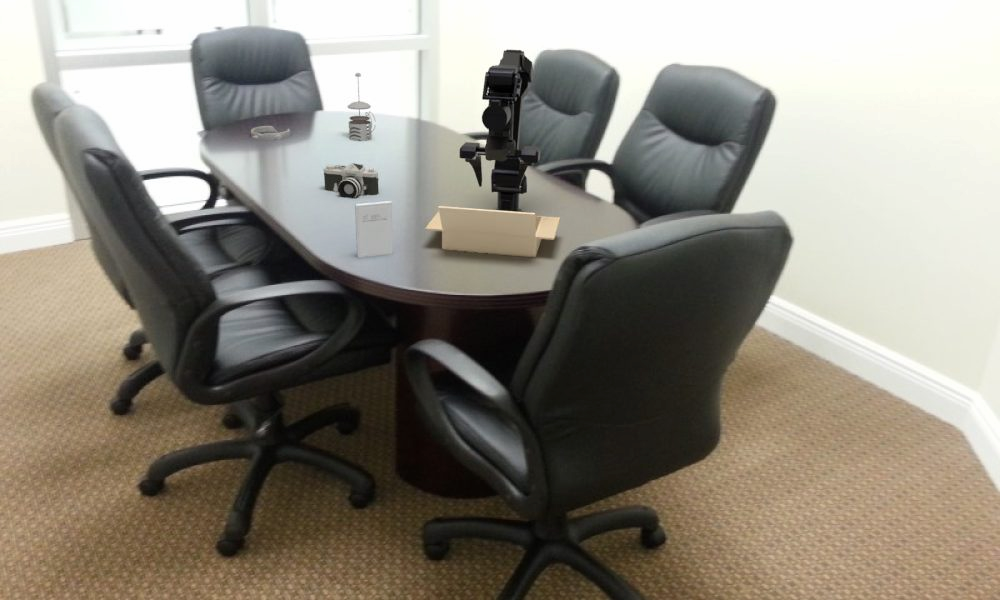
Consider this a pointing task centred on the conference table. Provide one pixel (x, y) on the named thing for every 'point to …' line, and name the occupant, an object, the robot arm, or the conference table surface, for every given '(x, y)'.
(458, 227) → the kraft flap
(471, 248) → the carton
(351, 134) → the french press
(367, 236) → the hard drive
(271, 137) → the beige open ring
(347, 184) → the camera
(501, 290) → the conference table surface
